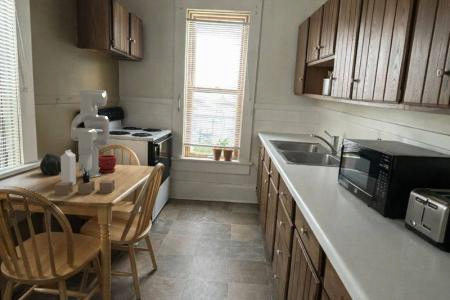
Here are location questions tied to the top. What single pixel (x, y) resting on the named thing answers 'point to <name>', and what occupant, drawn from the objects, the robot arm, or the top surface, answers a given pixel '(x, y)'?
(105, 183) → the digit block 7
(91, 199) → the top surface
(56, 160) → the squash
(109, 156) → the plant pot
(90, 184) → the plain block
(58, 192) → the digit block 1
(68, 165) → the milk
